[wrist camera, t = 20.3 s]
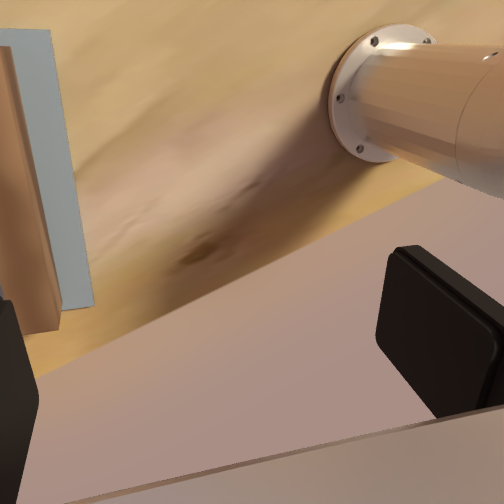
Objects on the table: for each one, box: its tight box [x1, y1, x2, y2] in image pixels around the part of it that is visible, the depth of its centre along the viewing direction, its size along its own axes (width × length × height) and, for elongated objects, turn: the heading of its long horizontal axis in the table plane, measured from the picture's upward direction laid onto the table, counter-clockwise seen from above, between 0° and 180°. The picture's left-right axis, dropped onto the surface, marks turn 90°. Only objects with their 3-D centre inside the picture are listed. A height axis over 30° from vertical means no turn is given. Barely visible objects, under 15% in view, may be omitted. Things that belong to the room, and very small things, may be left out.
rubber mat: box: [0, 29, 94, 311], centre depth 36 cm, size 9×24×1 cm, turn 0°
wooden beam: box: [0, 46, 63, 336], centre depth 34 cm, size 3×22×4 cm, turn 0°
